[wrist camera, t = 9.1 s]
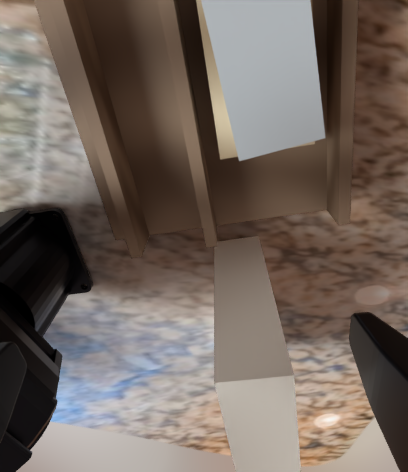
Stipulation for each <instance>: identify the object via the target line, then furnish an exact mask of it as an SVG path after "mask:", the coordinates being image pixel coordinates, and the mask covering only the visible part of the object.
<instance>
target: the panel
mask: <svg viewBox="0 0 408 472" xmlns="http://www.w3.org/2000/svg"><path fill="white" fill-rule="evenodd" d="M214 384H215V388H216V392H217V396H218V400H219V405H220V409H221V413H222V417H223V421H224V425H225V430H226V434H227V438H228V442H229V446H230V450H231V455H232V459H233V463H234V467H235V471H236V472H301V466H300V452H299V438H298V424H297V410H296V396H295V381H294V373H293V369H292V365H291V361H290V357H289V353H288V349H287V346H286V342H285V338H284V334H283V330H282V326H281V322H280V318H279V314H278V310H277V306H276V302H275V298H274V294H273V290H272V286H271V282H270V278H269V274H268V271H267V267H266V263H265V259H264V255H263V251H262V247H261V243H260V239H259V236H254V237H247V238H240V239H232V240H225V241H218V242H217V246H216V247H214Z"/></svg>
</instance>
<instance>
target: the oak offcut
mask: <svg viewBox="0 0 408 472" xmlns="http://www.w3.org/2000/svg"><path fill="white" fill-rule="evenodd" d="M196 2H197V9H198V16H199V22H200V29H201V35H202V42H203V48H204V55H205V62H206V68H207V75H208V81H209V88H210V95H211V101H212V108H213V114H214V121H215V128H216V134H217V141H218V147H219V154H220V159H226V158H232V157H238V154H237V150H236V146H235V142H234V138H233V133H232V129H231V125H230V121H229V117H228V112H227V108H226V104H225V100H224V95H223V91H222V87H221V83H220V78H219V74H218V70H217V66H216V62H215V57H214V53H213V49H212V45H211V40H210V36H209V32H208V28H207V24H206V19H205V15H204V11H203V7H202V2H201V0H196ZM310 2H311V11H312V20H313V0H310ZM312 144H315V141H313V142H309V143H305V144H302V145H298V146H294V147H299V146H306V145H312ZM291 148H293V147H291Z"/></svg>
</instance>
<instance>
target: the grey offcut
mask: <svg viewBox="0 0 408 472" xmlns="http://www.w3.org/2000/svg"><path fill="white" fill-rule="evenodd" d="M201 2H202V7H203V11H204V15H205V19H206V24H207V28H208V32H209V36H210V40H211V45H212V49H213V53H214V57H215V62H216V66H217V70H218V74H219V78H220V83H221V87H222V91H223V95H224V100H225V104H226V108H227V112H228V117H229V121H230V125H231V129H232V133H233V138H234V142H235V146H236V150H237V154H238V158H239V161H242V160H246V159H250V158H253V157H257V156H261V155H265V154H268V153H272V152H276V151H279V150H283V149H287V148H291V147H294V146H298V145H302V144H305V143H309V142H313V141H317V140H320V139H324V138H325V129H324V120H323V111H322V102H321V93H320V84H319V74H318V65H317V56H316V47H315V38H314V29H313V20H312V11H311V2H310V0H201Z"/></svg>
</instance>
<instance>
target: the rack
mask: <svg viewBox="0 0 408 472" xmlns="http://www.w3.org/2000/svg"><path fill="white" fill-rule="evenodd" d="M34 3H35V5H36V8H37V11H38V14H39V17H40V20H41V23H42V26H43V29H44V32H45V35H46V38H47V41H48V44H49V47H50V49H51V52H52V55H53V58H54V61H55V64H56V67H57V70H58V73H59V76H60V79H61V82H62V85H63V88H64V91H65V93H66V96H67V99H68V102H69V105H70V108H71V111H72V114H73V117H74V120H75V123H76V126H77V129H78V132H79V134H80V137H81V140H82V143H83V146H84V149H85V152H86V155H87V158H88V161H89V164H90V167H91V170H92V173H93V176H94V178H95V181H96V184H97V187H98V190H99V193H100V196H101V199H102V202H103V205H104V208H105V211H106V214H107V217H108V220H109V222H110V225H111V228H112V231H113V234H114V237H115V240H120V239H125V240H126V243H127V246H128V249H129V252H130V255H131V258H136V257H142V255H143V252H144V249H145V247H146V244H147V241H148V238H149V236H150V235H155V234H162V233H169V232H176V231H183V230H190V229H197V228H202V229H203V234H204V239H205V244H206V248H209V247H216V246H217V226H218V225H225V224H232V223H239V222H246V221H253V220H260V219H267V218H274V217H281V216H288V215H295V214H302V213H309V212H316V211H323V210H327V211H328V212H329V213H330V215H331V216H332V217H333V219H334V220H335V221H336V223H337V224H338V225H343V224H350V211H351V184H352V157H353V131H354V104H355V77H356V51H357V24H358V0H313V29H314V38H315V47H316V56H317V65H318V74H319V84H320V93H321V102H322V111H323V120H324V129H325V138H324V139H320V140H317V141H315V144H312V145H306V146H299V147H293V148H287V149H283V150H279V151H276V152H272V153H268V154H265V155H261V156H257V157H253V158H250V159H246V160H242V161H239V158H238V157H232V158H226V159H220V154H219V147H218V141H217V134H216V128H215V121H214V114H213V108H212V101H211V95H210V88H209V81H208V75H207V68H206V62H205V55H204V48H203V42H202V35H201V29H200V22H199V16H198V9H197V2H196V0H34Z"/></svg>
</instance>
